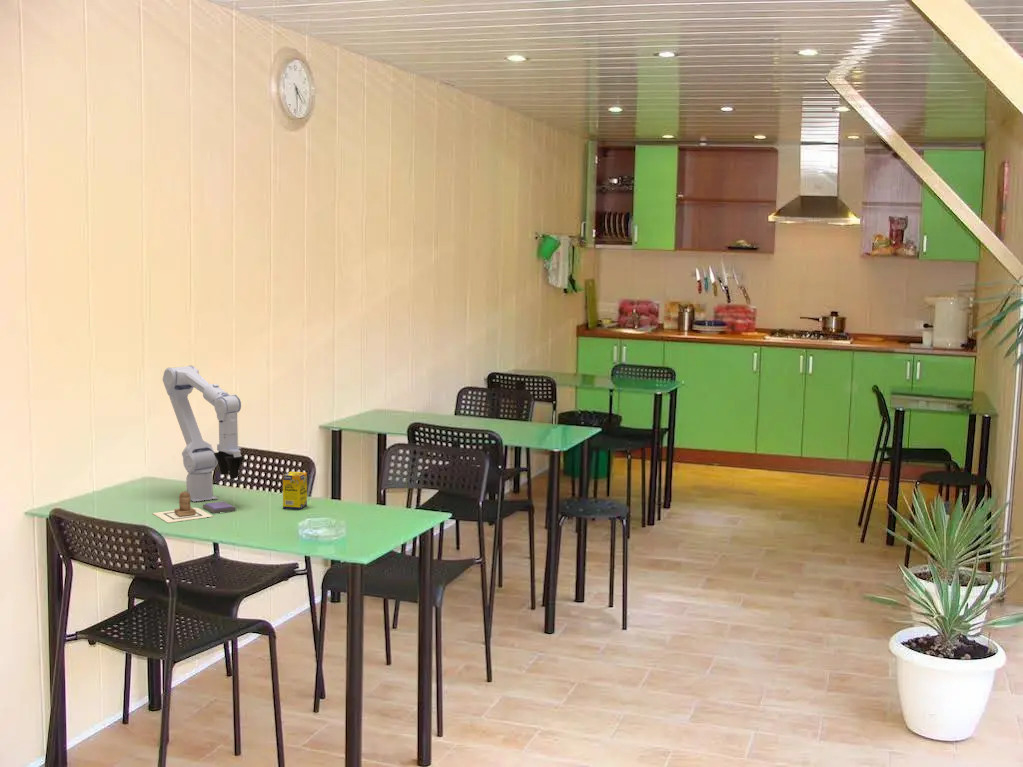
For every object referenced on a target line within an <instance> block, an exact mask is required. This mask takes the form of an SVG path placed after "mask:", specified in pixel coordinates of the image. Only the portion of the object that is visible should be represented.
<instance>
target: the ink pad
mask: <svg viewBox="0 0 1023 767" xmlns="http://www.w3.org/2000/svg"><path fill="white" fill-rule="evenodd" d="M202 507H203V508H204V510H205V509H206V511H207V510H208V512H209V511H210V512H209V513H211V512H212V513H211V514H213V513H218V514H221V513H220V512H225V513H227V512H226V511H233V512H236V511H235V510H237V508H236V507H235V506H234V505H231V504H229V502H228V503H227V502H226V501H224V500H223V501H217V502H216V501H215V502H209V503H204V504H203V505H202Z"/></svg>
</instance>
